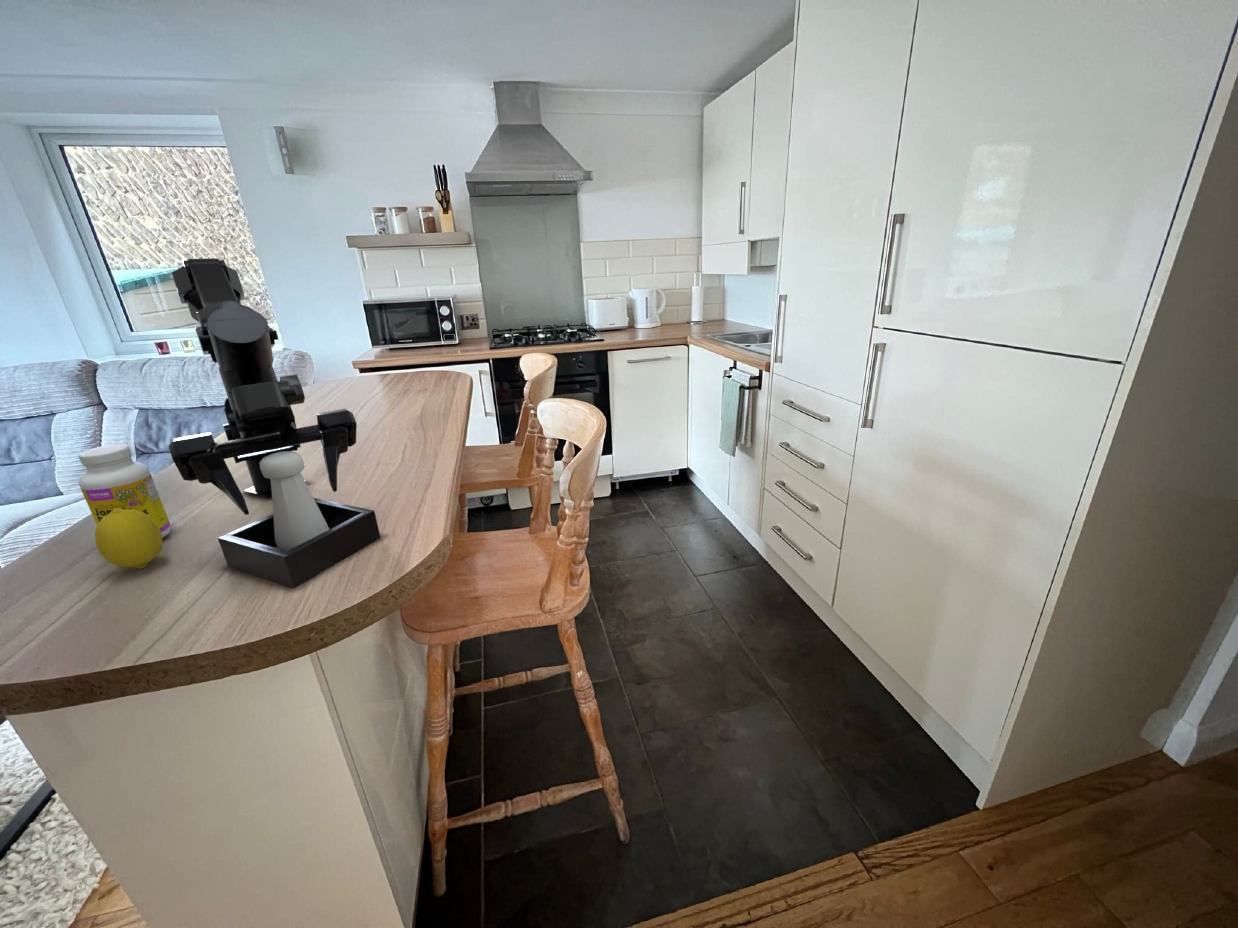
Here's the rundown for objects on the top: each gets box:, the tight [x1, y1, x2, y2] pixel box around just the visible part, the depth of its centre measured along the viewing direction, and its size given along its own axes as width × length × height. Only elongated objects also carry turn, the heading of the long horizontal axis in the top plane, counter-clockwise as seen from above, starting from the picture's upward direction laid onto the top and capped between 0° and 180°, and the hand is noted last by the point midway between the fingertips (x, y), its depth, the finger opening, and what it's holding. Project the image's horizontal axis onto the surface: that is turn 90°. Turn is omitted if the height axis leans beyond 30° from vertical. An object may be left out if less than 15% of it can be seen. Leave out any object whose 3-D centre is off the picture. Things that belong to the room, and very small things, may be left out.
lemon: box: [94, 508, 163, 570], centre depth 60 cm, size 6×6×8 cm
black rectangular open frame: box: [217, 497, 381, 589], centre depth 63 cm, size 12×12×4 cm
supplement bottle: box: [78, 443, 172, 539], centre depth 66 cm, size 7×7×13 cm
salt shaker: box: [260, 451, 329, 551], centre depth 61 cm, size 6×6×13 cm
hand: (292, 501), depth 60 cm, fingers open, 9 cm apart
